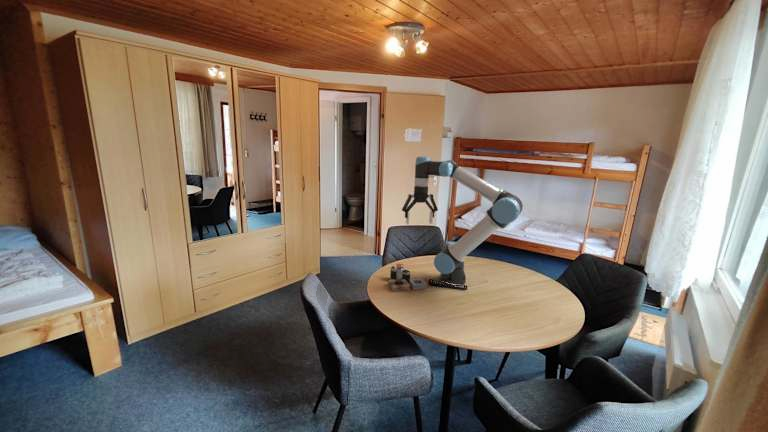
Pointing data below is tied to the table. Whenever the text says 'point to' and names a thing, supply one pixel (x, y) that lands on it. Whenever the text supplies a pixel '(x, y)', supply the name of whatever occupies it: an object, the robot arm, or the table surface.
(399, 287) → the dock block
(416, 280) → the plate
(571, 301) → the table surface
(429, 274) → the table surface
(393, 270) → the camera
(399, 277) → the lock pin
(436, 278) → the table surface
